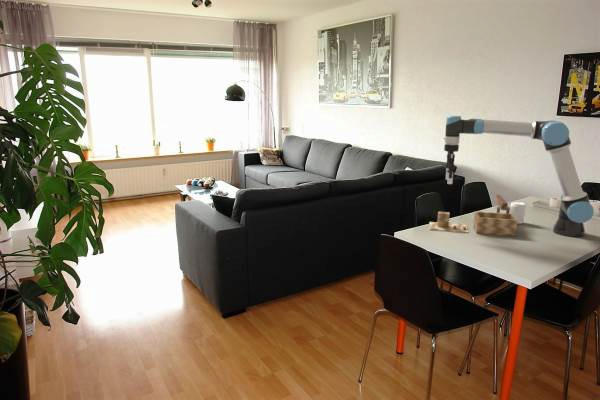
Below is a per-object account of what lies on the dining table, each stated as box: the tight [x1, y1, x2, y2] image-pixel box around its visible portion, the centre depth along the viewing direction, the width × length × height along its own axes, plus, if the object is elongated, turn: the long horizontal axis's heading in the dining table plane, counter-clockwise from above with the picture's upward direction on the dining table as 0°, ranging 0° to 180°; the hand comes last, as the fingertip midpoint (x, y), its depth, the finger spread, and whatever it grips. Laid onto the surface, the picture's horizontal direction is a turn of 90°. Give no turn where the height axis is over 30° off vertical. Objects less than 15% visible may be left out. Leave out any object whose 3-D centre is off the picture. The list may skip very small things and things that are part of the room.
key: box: [494, 194, 509, 211], centre depth 263 cm, size 3×24×4 cm, turn 165°
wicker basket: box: [472, 205, 518, 237], centre depth 250 cm, size 20×20×12 cm
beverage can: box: [509, 201, 526, 225], centre depth 264 cm, size 8×8×12 cm
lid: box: [428, 211, 469, 234], centre depth 253 cm, size 21×14×9 cm
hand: (448, 181), depth 249 cm, fingers open, 13 cm apart
